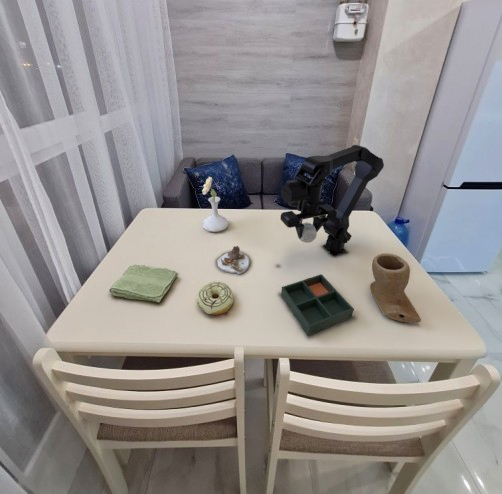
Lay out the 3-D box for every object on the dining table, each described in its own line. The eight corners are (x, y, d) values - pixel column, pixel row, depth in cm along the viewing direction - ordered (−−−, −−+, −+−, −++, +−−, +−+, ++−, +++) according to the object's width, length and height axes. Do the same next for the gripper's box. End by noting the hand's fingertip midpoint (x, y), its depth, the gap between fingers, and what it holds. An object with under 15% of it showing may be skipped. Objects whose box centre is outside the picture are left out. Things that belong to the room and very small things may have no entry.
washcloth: (161, 305, 78) (159, 297, 76) (107, 297, 80) (105, 289, 79) (180, 274, 89) (179, 267, 88) (132, 267, 92) (130, 260, 91)
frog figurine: (222, 249, 102) (222, 241, 100) (252, 254, 99) (252, 246, 98) (212, 270, 91) (211, 261, 90) (246, 275, 89) (246, 266, 88)
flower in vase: (207, 219, 122) (203, 168, 111) (231, 221, 120) (229, 170, 110) (198, 235, 110) (193, 180, 99) (224, 237, 109) (222, 182, 98)
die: (315, 241, 90) (317, 229, 88) (302, 243, 89) (303, 231, 87) (309, 233, 95) (310, 221, 93) (296, 235, 94) (297, 223, 91)
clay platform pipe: (359, 283, 87) (368, 246, 80) (396, 285, 86) (409, 248, 80) (376, 323, 73) (388, 283, 67) (420, 326, 72) (437, 286, 66)
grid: (320, 281, 87) (321, 274, 86) (351, 317, 75) (354, 309, 73) (281, 295, 82) (281, 286, 80) (308, 335, 69) (309, 327, 68)
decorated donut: (207, 323, 72) (206, 314, 71) (192, 298, 80) (191, 288, 79) (239, 306, 78) (239, 297, 76) (222, 283, 86) (221, 275, 84)
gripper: (321, 183, 95) (316, 220, 101) (274, 190, 89) (272, 229, 95) (341, 195, 85) (334, 235, 92) (290, 205, 79) (286, 247, 86)
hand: (306, 236), depth 92 cm, fingers closed on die, 5 cm apart
